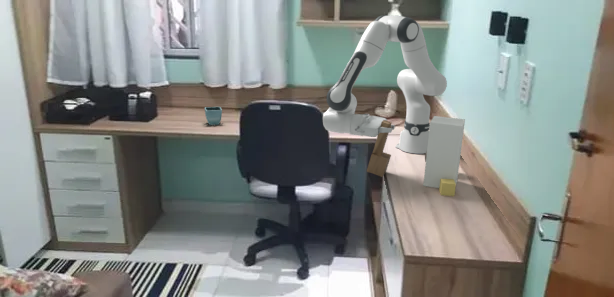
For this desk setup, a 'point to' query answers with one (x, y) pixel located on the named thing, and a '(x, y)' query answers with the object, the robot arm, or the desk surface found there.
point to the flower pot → (213, 115)
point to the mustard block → (447, 187)
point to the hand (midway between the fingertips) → (393, 128)
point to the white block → (443, 150)
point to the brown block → (380, 153)
